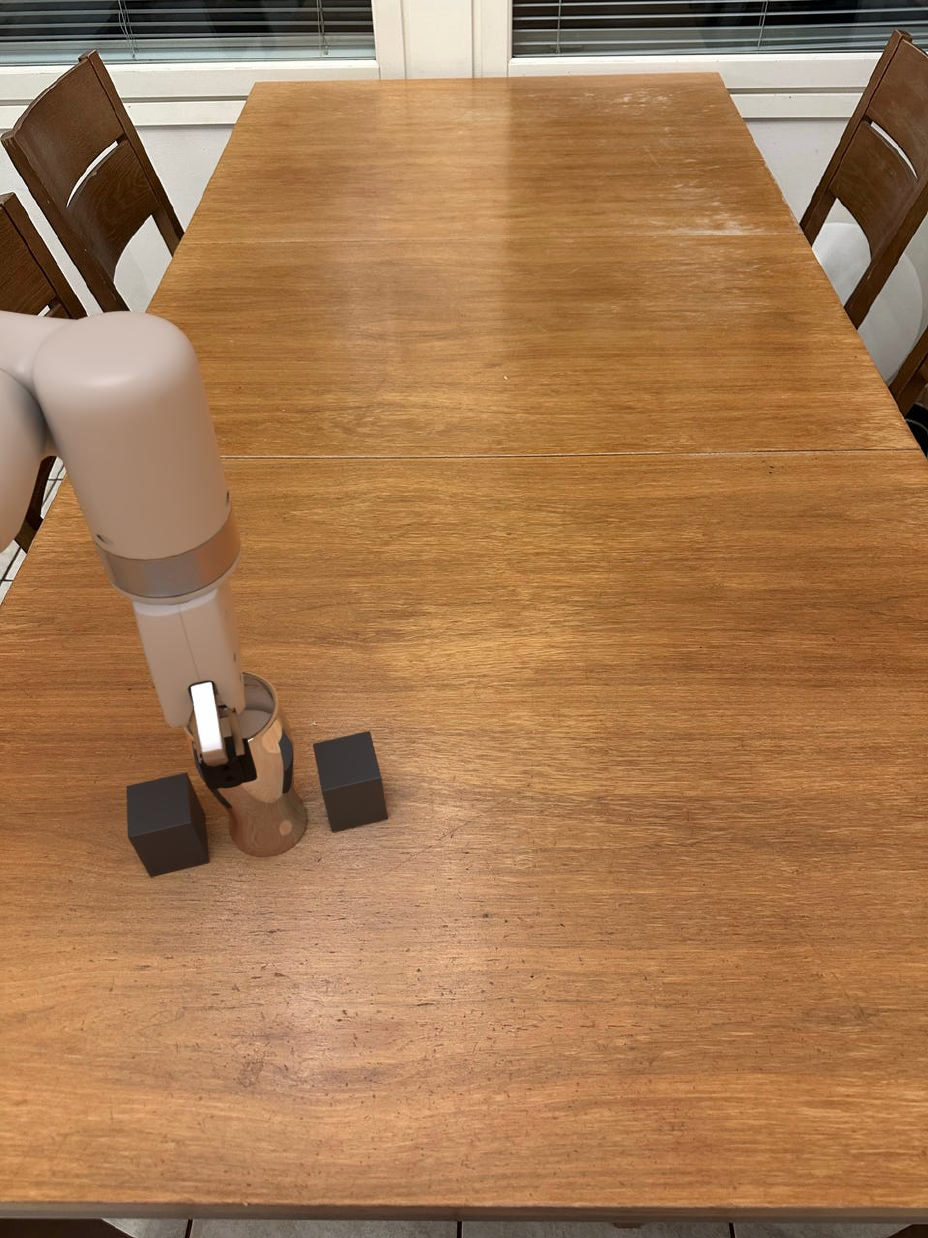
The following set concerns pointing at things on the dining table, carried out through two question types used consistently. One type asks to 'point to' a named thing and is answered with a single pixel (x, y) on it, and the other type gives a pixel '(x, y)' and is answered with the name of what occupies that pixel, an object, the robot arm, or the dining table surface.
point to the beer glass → (262, 776)
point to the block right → (350, 781)
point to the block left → (167, 824)
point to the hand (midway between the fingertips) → (226, 723)
